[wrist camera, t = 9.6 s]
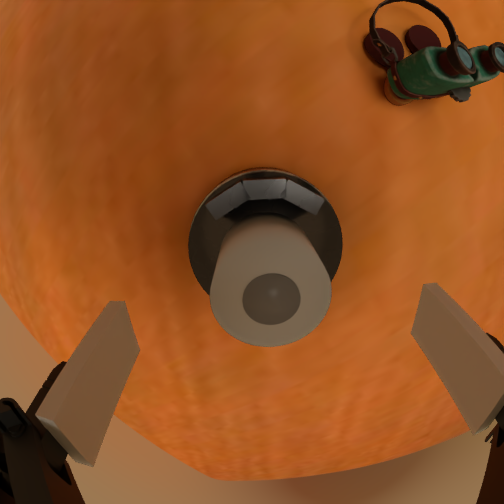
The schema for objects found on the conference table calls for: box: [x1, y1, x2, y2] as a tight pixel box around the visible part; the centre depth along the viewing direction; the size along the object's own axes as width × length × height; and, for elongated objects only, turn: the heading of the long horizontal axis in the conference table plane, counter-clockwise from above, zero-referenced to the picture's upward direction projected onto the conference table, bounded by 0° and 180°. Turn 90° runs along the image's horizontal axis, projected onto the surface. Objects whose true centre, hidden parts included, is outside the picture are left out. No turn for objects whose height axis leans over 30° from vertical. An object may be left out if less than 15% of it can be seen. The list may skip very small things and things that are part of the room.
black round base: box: [188, 167, 342, 296], centre depth 22 cm, size 11×11×6 cm
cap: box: [210, 212, 331, 347], centre depth 18 cm, size 6×6×6 cm
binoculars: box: [364, 0, 504, 106], centre depth 14 cm, size 9×11×10 cm
